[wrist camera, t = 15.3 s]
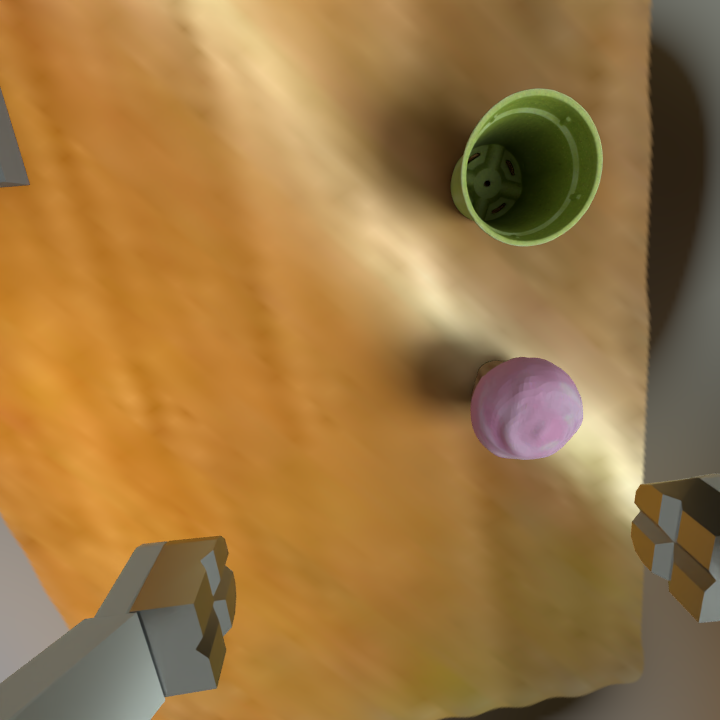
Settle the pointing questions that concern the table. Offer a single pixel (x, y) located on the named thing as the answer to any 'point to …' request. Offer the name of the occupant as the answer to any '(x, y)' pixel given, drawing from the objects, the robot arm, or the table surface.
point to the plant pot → (529, 168)
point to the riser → (9, 152)
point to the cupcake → (524, 408)
